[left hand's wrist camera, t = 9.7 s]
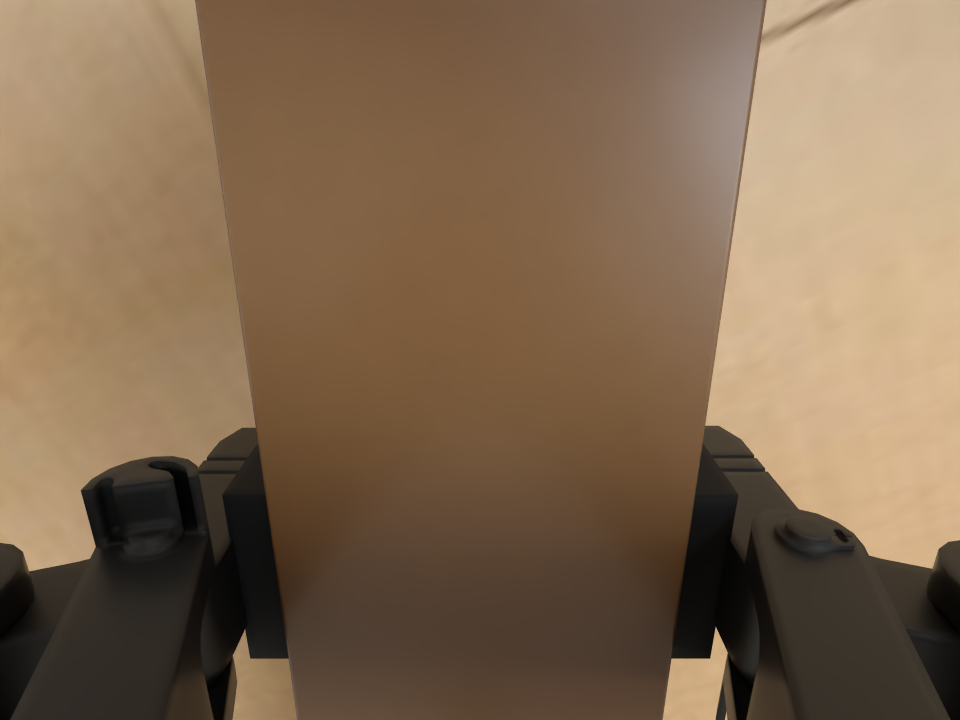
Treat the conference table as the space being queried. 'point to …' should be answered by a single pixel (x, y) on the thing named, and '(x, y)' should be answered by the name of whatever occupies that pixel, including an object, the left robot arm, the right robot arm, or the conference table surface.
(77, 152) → the conference table surface
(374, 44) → the bar
